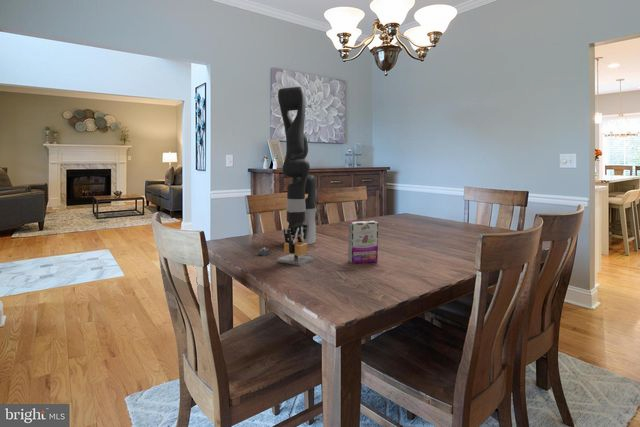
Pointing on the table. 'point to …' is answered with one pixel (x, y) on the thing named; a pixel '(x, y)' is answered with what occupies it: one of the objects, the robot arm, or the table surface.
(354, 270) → the table surface
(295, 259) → the plate
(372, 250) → the candy bar box
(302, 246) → the orange link
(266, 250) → the grey knob block
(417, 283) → the table surface
